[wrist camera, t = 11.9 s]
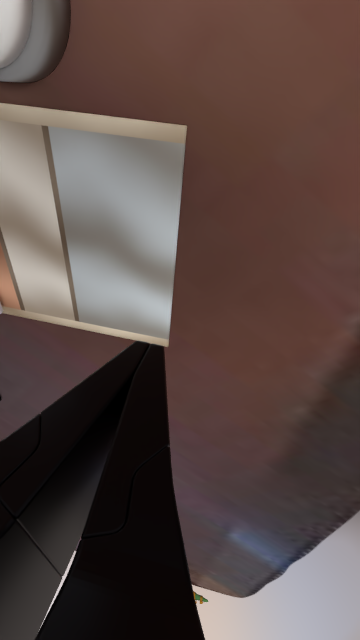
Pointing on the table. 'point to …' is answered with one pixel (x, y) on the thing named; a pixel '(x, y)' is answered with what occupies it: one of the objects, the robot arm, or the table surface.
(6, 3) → the dome
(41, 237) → the game board
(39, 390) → the table surface
